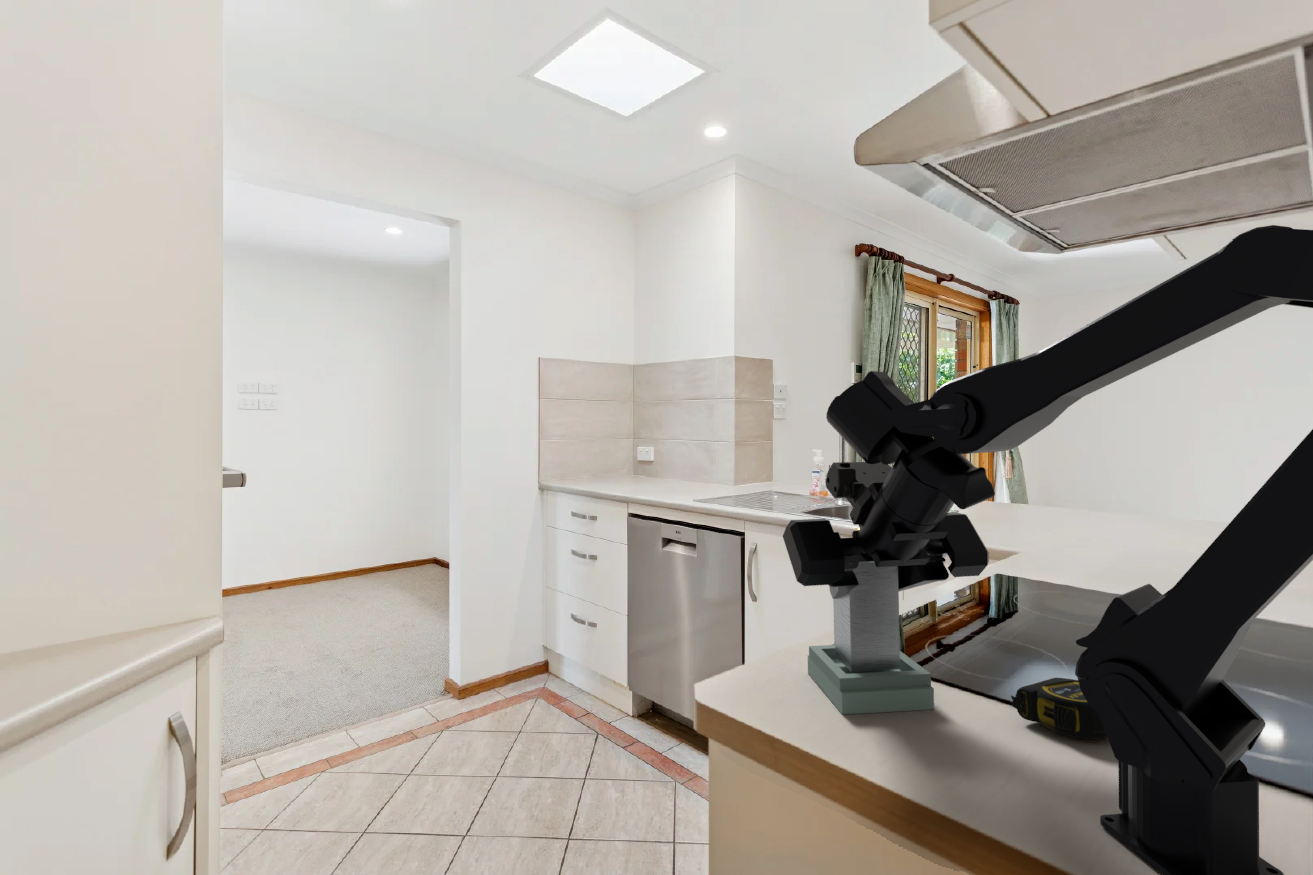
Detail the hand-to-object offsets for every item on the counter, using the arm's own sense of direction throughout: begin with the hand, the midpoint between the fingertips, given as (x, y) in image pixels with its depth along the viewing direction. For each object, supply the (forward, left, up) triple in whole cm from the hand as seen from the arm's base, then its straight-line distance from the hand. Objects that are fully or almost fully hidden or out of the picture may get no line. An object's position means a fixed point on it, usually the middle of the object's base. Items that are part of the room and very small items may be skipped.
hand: (857, 593), depth 66 cm
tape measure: (-11, -14, -10) cm, 21 cm away
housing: (-2, 0, -7) cm, 7 cm away
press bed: (-2, 0, -9) cm, 10 cm away
